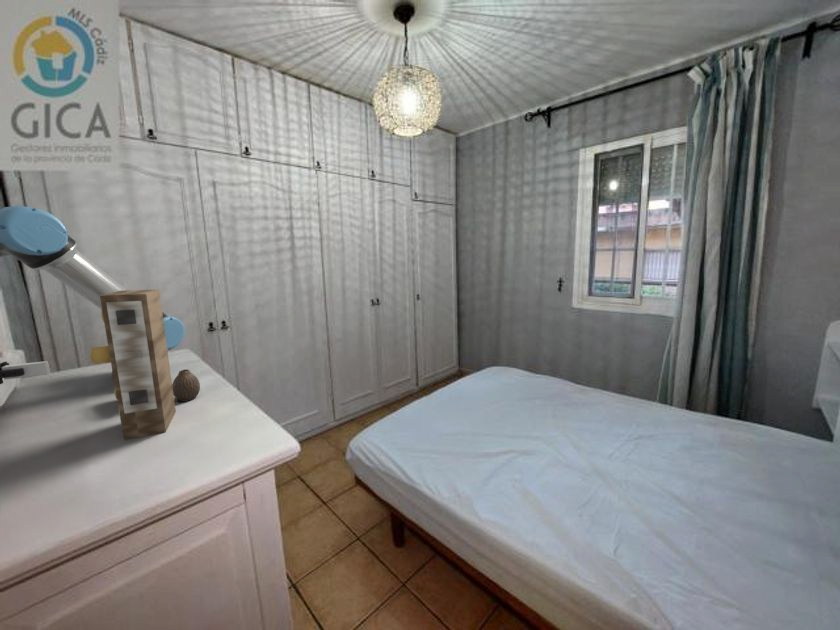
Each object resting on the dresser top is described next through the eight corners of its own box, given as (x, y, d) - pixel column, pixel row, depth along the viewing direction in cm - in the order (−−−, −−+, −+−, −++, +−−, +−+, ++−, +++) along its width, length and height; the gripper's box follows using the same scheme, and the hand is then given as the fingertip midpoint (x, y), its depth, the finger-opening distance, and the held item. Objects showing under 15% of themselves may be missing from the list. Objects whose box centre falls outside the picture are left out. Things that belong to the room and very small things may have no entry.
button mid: (92, 366, 77) (89, 349, 76) (99, 361, 80) (96, 345, 79) (114, 363, 78) (112, 347, 78) (120, 359, 82) (118, 343, 81)
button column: (122, 441, 77) (98, 296, 72) (139, 417, 89) (119, 290, 83) (165, 433, 81) (145, 294, 75) (175, 411, 92) (159, 289, 86)
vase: (187, 404, 97) (183, 375, 95) (167, 402, 98) (163, 373, 97) (206, 394, 104) (203, 367, 102) (188, 392, 105) (184, 366, 103)
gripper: (-87, 392, 70) (65, 374, 80) (-154, 420, 59) (34, 394, 69) (-98, 358, 69) (58, 344, 79) (-168, 380, 57) (25, 359, 67)
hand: (47, 367), depth 74 cm, fingers closed
